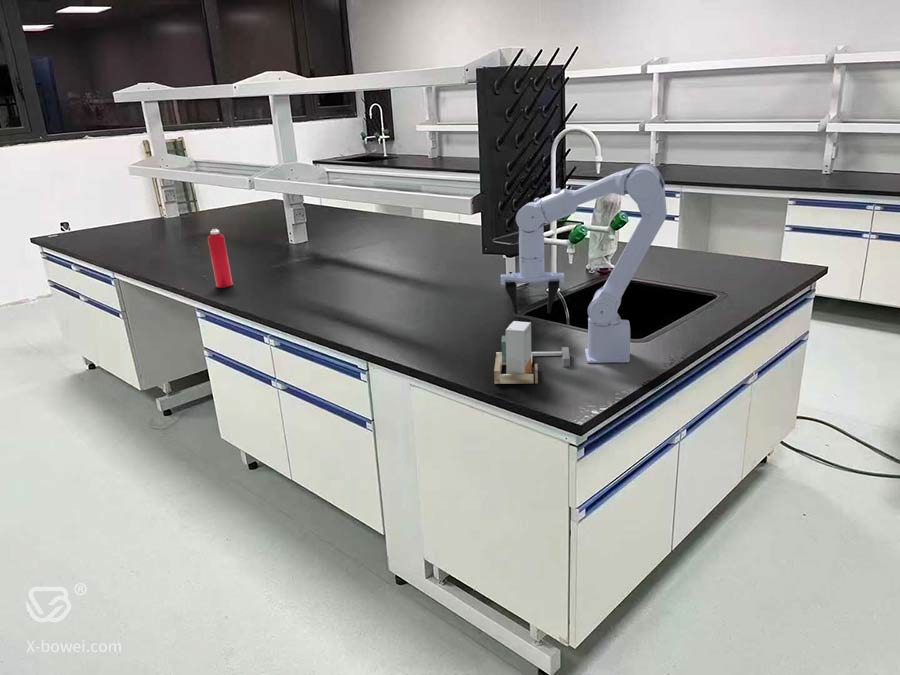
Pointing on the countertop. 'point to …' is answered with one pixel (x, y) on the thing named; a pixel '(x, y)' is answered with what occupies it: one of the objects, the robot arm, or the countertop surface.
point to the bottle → (219, 259)
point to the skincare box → (518, 348)
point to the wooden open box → (511, 378)
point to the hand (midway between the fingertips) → (532, 312)
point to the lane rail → (564, 355)
